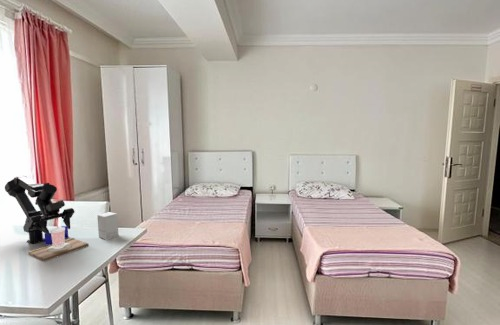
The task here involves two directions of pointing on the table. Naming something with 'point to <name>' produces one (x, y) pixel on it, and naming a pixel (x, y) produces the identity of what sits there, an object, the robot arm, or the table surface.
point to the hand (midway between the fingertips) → (59, 231)
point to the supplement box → (107, 225)
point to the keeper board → (50, 253)
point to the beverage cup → (58, 236)
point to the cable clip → (49, 238)
